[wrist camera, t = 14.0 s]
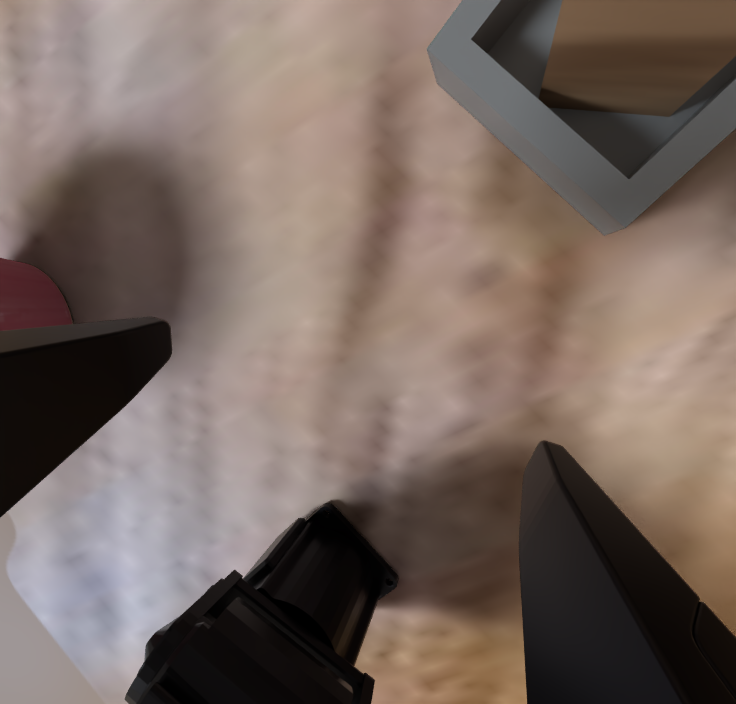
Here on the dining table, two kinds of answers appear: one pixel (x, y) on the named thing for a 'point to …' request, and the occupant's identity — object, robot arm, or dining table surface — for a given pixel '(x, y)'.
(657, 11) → the walnut block
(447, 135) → the dining table surface
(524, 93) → the holder box
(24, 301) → the plant pot
